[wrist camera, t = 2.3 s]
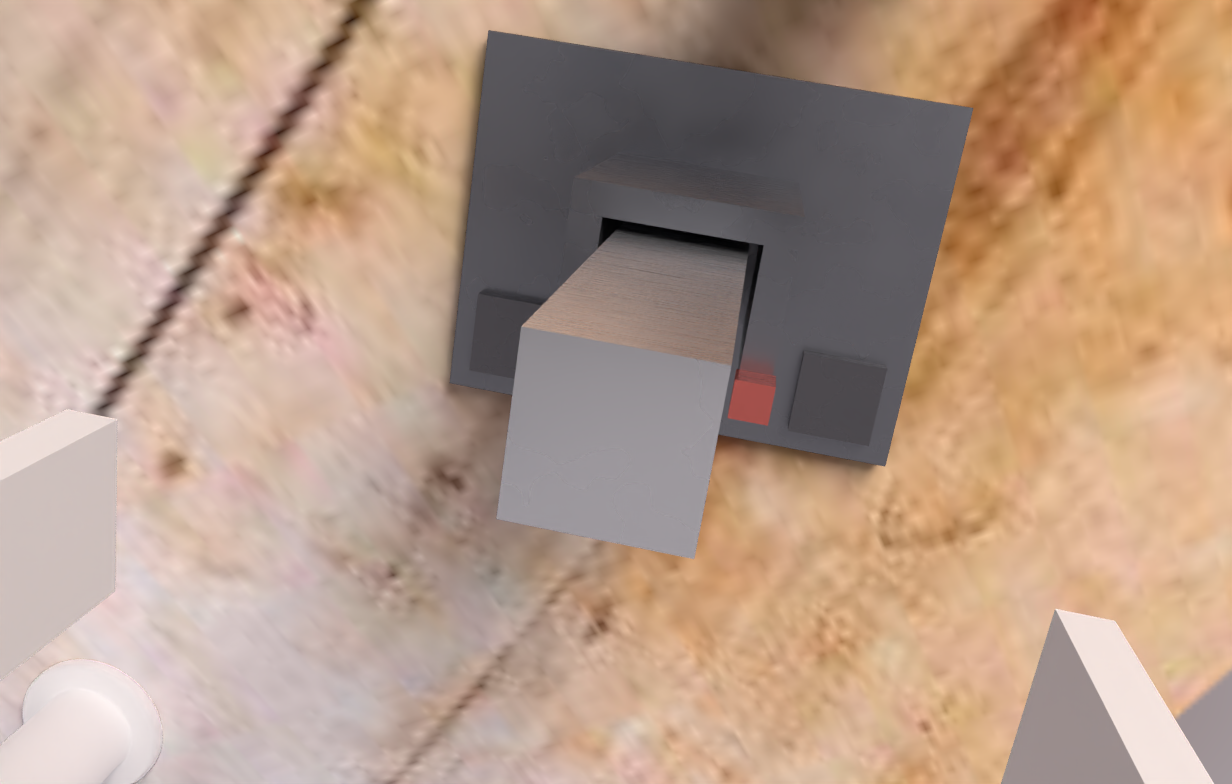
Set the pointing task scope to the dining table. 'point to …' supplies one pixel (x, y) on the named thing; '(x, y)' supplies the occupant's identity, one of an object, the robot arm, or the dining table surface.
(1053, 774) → the robot arm
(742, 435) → the housing
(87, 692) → the candle
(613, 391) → the column
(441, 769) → the dining table surface
